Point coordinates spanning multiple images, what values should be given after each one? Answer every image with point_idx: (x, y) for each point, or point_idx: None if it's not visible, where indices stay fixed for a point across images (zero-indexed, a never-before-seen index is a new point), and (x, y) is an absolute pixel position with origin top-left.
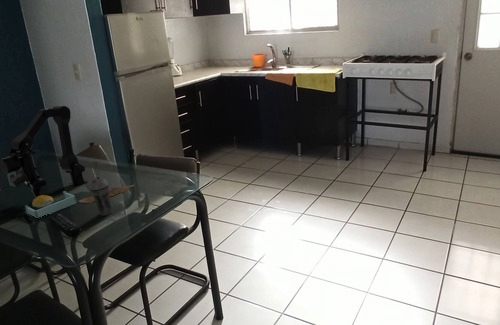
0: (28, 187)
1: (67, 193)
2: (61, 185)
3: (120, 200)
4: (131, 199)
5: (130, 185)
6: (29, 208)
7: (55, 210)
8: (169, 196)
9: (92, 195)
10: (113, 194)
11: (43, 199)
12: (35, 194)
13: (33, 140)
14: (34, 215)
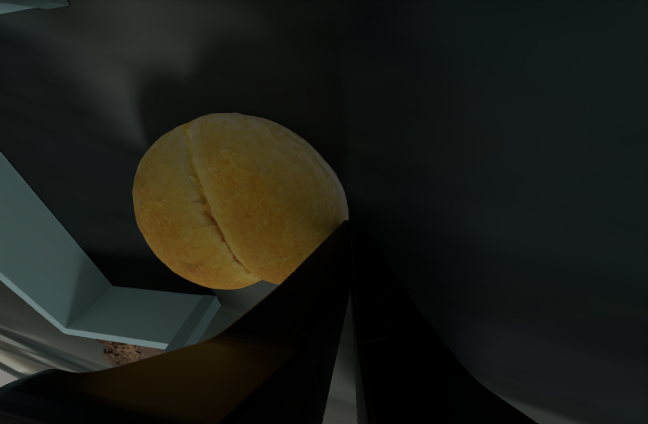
0: (49, 403)
1: (140, 343)
2: (521, 395)
3: (52, 342)
4: (46, 351)
5: None
6: None
7: (8, 190)
8: (27, 373)
9: (158, 349)
10: (117, 364)
11: (141, 230)
12: (315, 255)
13: None
14: None
